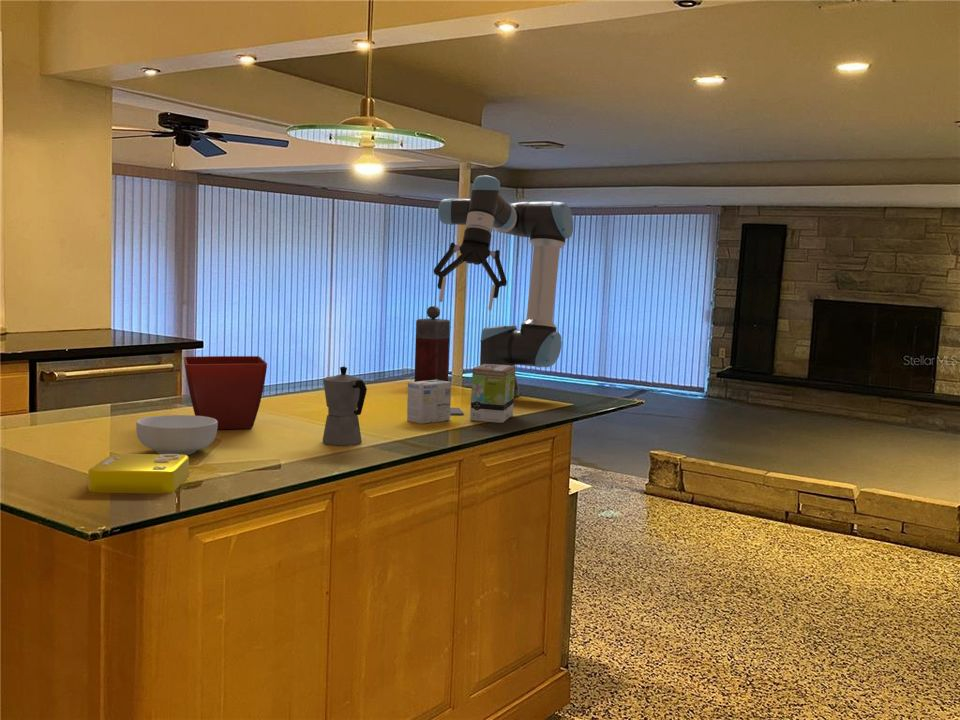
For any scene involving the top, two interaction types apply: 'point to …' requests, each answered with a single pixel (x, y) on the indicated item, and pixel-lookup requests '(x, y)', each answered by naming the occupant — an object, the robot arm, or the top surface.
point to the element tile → (139, 473)
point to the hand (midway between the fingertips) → (465, 304)
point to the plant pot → (226, 388)
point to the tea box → (492, 393)
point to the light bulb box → (428, 401)
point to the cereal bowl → (176, 433)
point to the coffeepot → (343, 409)
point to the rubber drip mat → (456, 411)
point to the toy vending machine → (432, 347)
